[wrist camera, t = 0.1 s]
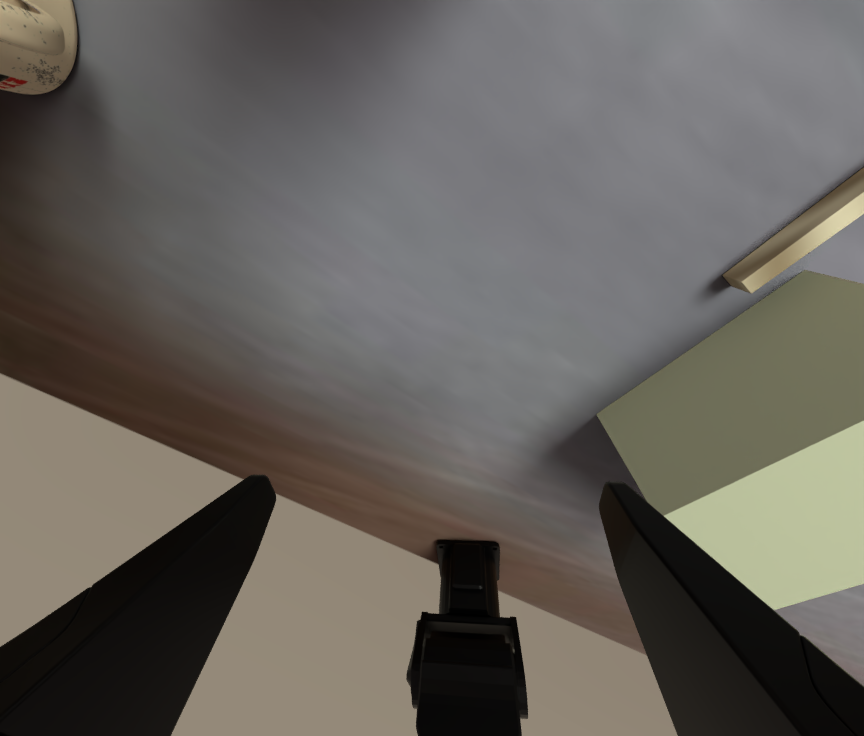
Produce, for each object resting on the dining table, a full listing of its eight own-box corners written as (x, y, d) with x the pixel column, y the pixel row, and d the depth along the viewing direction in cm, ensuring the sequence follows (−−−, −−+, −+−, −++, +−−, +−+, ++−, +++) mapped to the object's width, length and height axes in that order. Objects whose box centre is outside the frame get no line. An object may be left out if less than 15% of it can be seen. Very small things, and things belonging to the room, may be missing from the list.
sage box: (685, 489, 27) (774, 609, 19) (595, 412, 24) (657, 519, 16) (889, 387, 21) (1136, 503, 13) (802, 269, 18) (1054, 329, 10)
